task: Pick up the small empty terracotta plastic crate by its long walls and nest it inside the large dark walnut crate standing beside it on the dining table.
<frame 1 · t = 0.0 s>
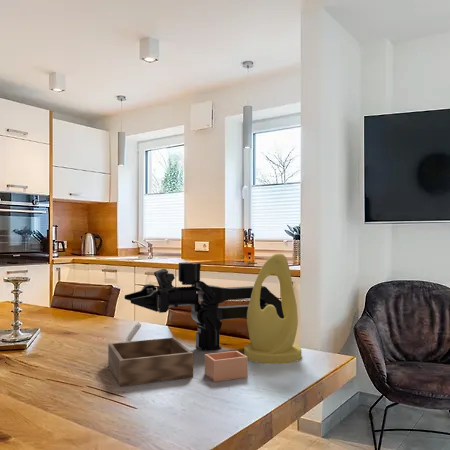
hand: (127, 299, 132), 17 cm above the table, tool horizontal, fingers open, 9 cm apart
sculpture: (272, 356, 132), on the table
big crate: (148, 371, 117), on the table
small crate: (225, 375, 114), on the table
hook: (128, 357, 132), on the table
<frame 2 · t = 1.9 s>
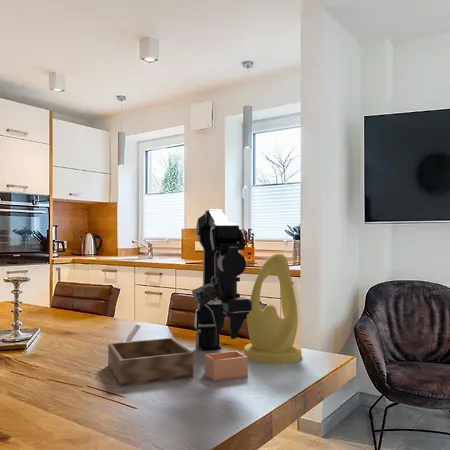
hand: (225, 335, 114), 10 cm above the table, tool pointing down, fingers open, 9 cm apart
nothing on the table moved.
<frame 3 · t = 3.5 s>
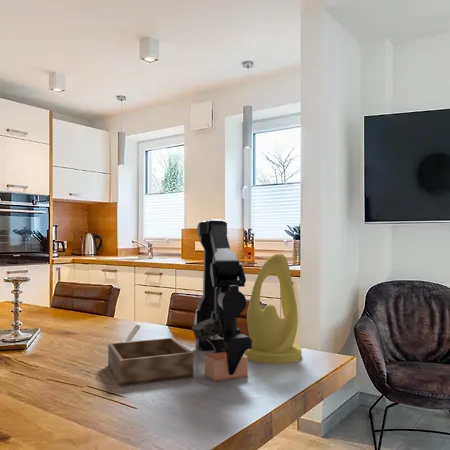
hand: (225, 370, 114), 1 cm above the table, tool pointing down, fingers closed on small crate, 6 cm apart
small crate: (225, 375, 114), on the table, touching gripper
everything else where it was.
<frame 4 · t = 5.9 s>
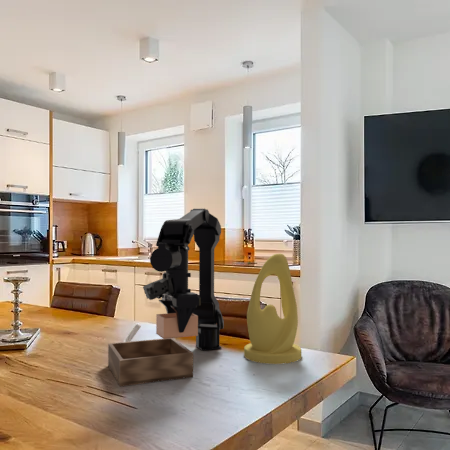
hand: (176, 329, 116), 11 cm above the table, tool pointing down, fingers closed on small crate, 6 cm apart
small crate: (176, 334, 116), point 10 cm above the table, touching gripper
everything else where it was.
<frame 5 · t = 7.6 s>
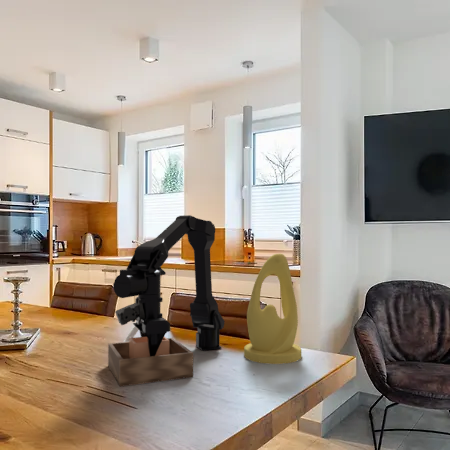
hand: (149, 353, 117), 4 cm above the table, tool pointing down, fingers closed on small crate, 6 cm apart
small crate: (149, 358, 117), point 3 cm above the table, touching gripper
everything else where it was.
when the fingers open (4 cm above the table, at t = 8.6 s): small crate drops 2 cm, resting on big crate.
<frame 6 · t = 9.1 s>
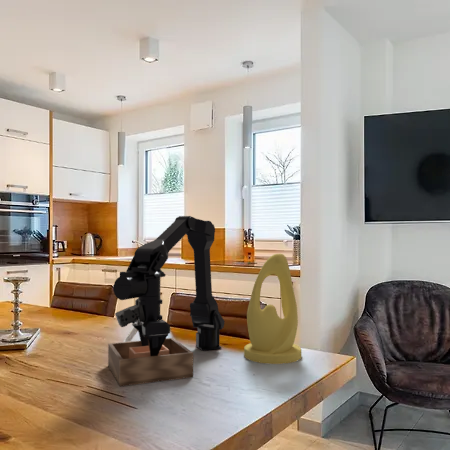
hand: (149, 355, 117), 4 cm above the table, tool pointing down, fingers open, 9 cm apart
big crate: (148, 371, 117), on the table, touching small crate
small crate: (148, 368, 117), point 1 cm above the table, touching big crate
everything else where it was.
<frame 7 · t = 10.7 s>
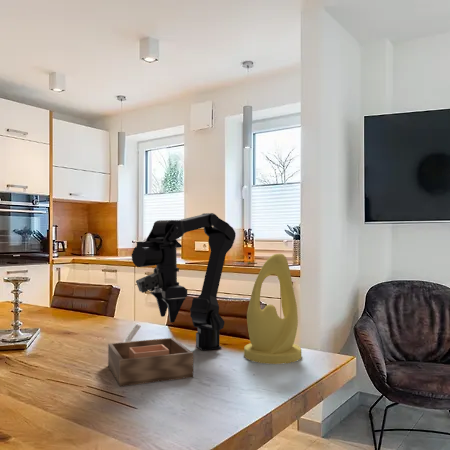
hand: (167, 319, 128), 11 cm above the table, tool pointing down, fingers open, 9 cm apart
nothing on the table moved.
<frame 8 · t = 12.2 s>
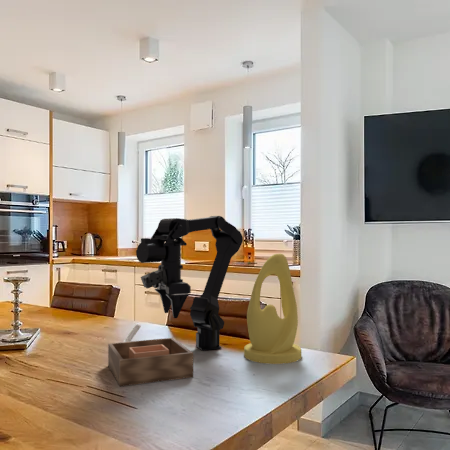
hand: (170, 315, 131), 12 cm above the table, tool pointing down, fingers open, 9 cm apart
nothing on the table moved.
at the end: small crate inside the target area on the big crate (0.1 cm from its centre), point 0.8 cm above the big crate's base; small crate tilted 0°; the gripper is holding nothing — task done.
